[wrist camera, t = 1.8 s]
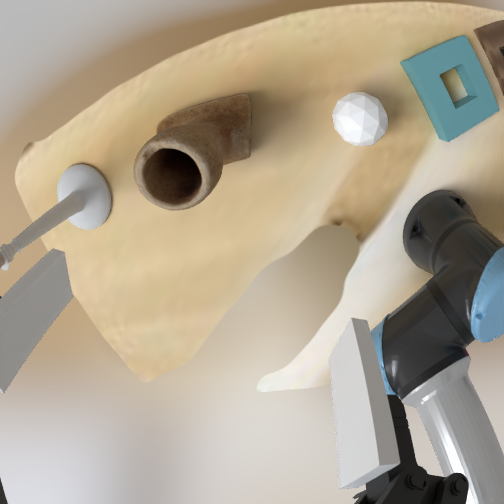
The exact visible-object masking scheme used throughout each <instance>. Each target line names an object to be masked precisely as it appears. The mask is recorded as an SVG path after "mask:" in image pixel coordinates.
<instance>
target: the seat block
mask: <svg viewBox="0 0 504 504" xmlns="http://www.w3.org/2000/svg"><path fill="white" fill-rule="evenodd" d="M400 63H401V65H402V67H403V68H404V70H405V72H406V73H407V75H408V77H409V79H410V80H411V82H412V84H413V86H414V88H415V89H416V91H417V93H418V95H419V97H420V99H421V101H422V103H423V105H424V107H425V109H426V111H427V113H428V115H429V117H430V119H431V121H432V123H433V126H434V128H435V130H436V132H437V134H438V137H439V139H441V140H444V141H447V142H449V141H451V140H453V139H454V138H456V137H457V136H459V135H461V134H462V133H464V132H466V131H467V130H469V129H470V128H472V127H474V126H475V125H477V124H478V123H480V122H482V121H483V120H485V119H486V118H488V117H490V116H491V115H493V114H494V113H496V112H498V111H499V108H498V105H497V102H496V100H495V97H494V95H493V92H492V89H491V87H490V85H489V82H488V80H487V78H486V75H485V73H484V71H483V69H482V67H481V64H480V62H479V60H478V58H477V56H476V54H475V52H474V50H473V48H472V47H471V45H470V43H469V41H468V39H467V37H466V36H465V35H462V36H457V37H454V38H452V39H449V40H447V41H445V42H442V43H440V44H438V45H436V46H433V47H431V48H429V49H427V50H424V51H422V52H420V53H418V54H416V55H414V56H412V57H410V58H408V59H406V60H403V61H401V62H400ZM454 67H455V69H456V71H457V73H458V75H459V77H460V79H461V81H462V83H463V85H464V87H465V89H466V92H467V94H468V96H466V97H465V98H463V99H461V100H459V101H458V102H456V103H454V104H453V102H452V100H451V98H450V96H449V94H448V92H447V90H446V87H445V85H444V83H443V81H442V80H441V78H440V76H439V75H440V74H442V73H444V72H446V71H448V70H450V69H452V68H454Z"/></svg>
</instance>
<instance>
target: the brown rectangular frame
mask: <svg viewBox="0 0 504 504" xmlns="http://www.w3.org/2000/svg"><path fill="white" fill-rule="evenodd" d="M474 32H475V34H476V36H477V37H478V39H479V41H480V43H481V45H482V47H483V49H484V51H485V53H486V55H487V57H488V59H489V61H490V63H491V66H492V68H493V70H494V72H495V75H496V77H497V79H498V82H499V84H500V87H501V89H502V92H503V95H504V57H503V55H502V53H501V51H500V49H499V48H500V47H502V46H504V20H502V21H497V22H494V23H491V24H488V25H485V26H482V27H480V28H477V29H474Z"/></svg>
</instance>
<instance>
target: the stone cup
mask: <svg viewBox="0 0 504 504" xmlns="http://www.w3.org/2000/svg"><path fill="white" fill-rule="evenodd" d="M251 117H252V115H251V100H250V97H249V95H248V94H240V95H235V96H230V97H225V98H221V99H217V100H213V101H210V102H207V103H203V104H199V105H196V106H193V107H190V108H187V109H184V110H181V111H179V112H176V113H174V114H172V115H169V116H168V117H166V118H165V119H163V120H162V121H161V122H159V124H158V126H157V135H155V136H154V137H153V138H151V139H150V140H149V141H148V142H147V143H146V144H145V145H144V146H143V147H142V148H141V150H140V151H139V153H138V155H137V157H136V159H135V163H134V178H135V181H136V183H137V186H138V188H139V190H140V192H141V193H142V194H143V195H144V197H145V198H146V199H147V200H149V201H150V202H152V203H153V204H155V205H157V206H159V207H161V208H164V209H167V210H184V209H188V208H191V207H194V206H195V205H197V204H199V203H200V202H202V201H203V200H204V199H205V198H206V197H207V196H208V195H209V194H210V193H211V192H212V190H213V189H214V188H215V186H216V185H217V183H218V181H219V179H220V177H221V174H222V168H223V165H226V164H229V163H232V162H235V161H239V160H244V159H247V158H249V157H250V127H251Z"/></svg>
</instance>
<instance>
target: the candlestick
mask: <svg viewBox="0 0 504 504" xmlns="http://www.w3.org/2000/svg"><path fill="white" fill-rule="evenodd" d="M57 195H58V201H59V203H58V204H57V205H55V206H54V207H53V208H51V209H50V210H49V211H47V212H46V213H45V214H44V215H42V216H41V217H40V218H38V219H37V220H36V221H35V222H33V223H32V224H31V225H30V226H29V227H27V228H26V229H25V230H24V231H23V232H22V233H20V234H19V235H18V236H17V237H16V238H14V239H13V240H12V243H10V244H3V245H2V246H1V247H0V268H2V269H3V270H8V267H9V262H11V261H12V260H13V257H14V255H15V253H16V252H20V251H21V250H22V249H23V248H25V247H26V246H28V245H29V244H30V243H32V242H33V241H35V240H36V239H37V238H39V237H40V236H42V235H43V234H45V233H46V232H48V231H49V230H51V229H52V228H54V227H55V226H57V225H58V224H60V223H61V222H63V221H65V220H66V219H68V220H69V221H70V222H71V223H72V224H74V225H75V226H77V227H79V228H82V229H87V230H90V229H95V228H97V227H99V226H100V225H102V224H103V223H104V222H105V221H106V219H107V218H108V216H109V213H110V209H111V194H110V190H109V187H108V185H107V183H106V181H105V179H104V178H103V176H102V175H101V174H100V173H99V172H98V171H97V170H96V169H94V168H93V167H91V166H88V165H85V164H77V165H74V166H71V167H70V168H68V169H67V170H66V171H65V172H64V173H63V174H62V176H61V178H60V180H59V183H58V189H57Z"/></svg>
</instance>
